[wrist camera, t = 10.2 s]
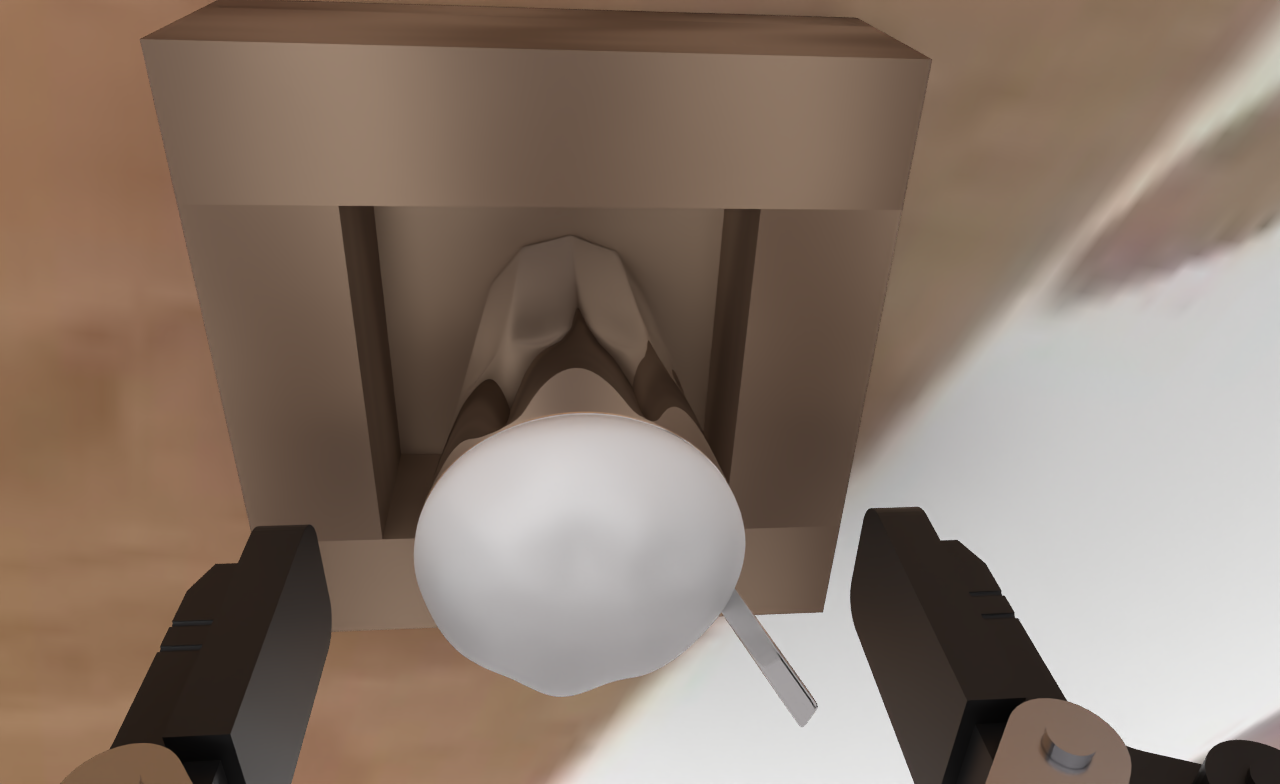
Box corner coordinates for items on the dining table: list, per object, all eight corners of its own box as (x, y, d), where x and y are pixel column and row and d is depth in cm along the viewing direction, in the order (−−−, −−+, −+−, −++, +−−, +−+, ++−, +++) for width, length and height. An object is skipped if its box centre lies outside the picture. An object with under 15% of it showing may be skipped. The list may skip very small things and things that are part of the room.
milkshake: (654, 431, 21) (733, 824, 13) (430, 361, 20) (349, 754, 11) (741, 261, 19) (902, 595, 11) (499, 170, 18) (463, 472, 9)
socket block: (856, 18, 18) (931, 59, 15) (782, 503, 24) (822, 612, 21) (220, -2, 17) (139, 38, 13) (313, 515, 23) (274, 633, 19)
